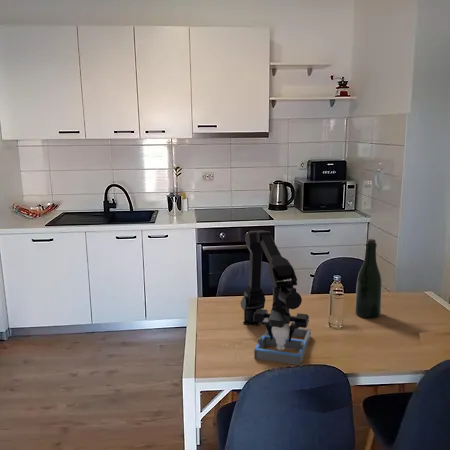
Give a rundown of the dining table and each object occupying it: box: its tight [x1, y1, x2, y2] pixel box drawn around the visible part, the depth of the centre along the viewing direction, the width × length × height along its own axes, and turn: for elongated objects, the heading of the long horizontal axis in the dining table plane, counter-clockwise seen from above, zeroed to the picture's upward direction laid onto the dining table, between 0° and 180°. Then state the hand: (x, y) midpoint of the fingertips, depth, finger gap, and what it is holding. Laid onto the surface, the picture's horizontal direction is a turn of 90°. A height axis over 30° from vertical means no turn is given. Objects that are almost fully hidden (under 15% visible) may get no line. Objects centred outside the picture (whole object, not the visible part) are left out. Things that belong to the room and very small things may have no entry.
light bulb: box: [271, 324, 290, 351], centre depth 160 cm, size 7×7×11 cm
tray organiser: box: [253, 327, 312, 366], centre depth 166 cm, size 16×23×5 cm
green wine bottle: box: [354, 238, 383, 320], centre depth 191 cm, size 10×10×33 cm
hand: (280, 340), depth 160 cm, fingers closed on light bulb, 6 cm apart
